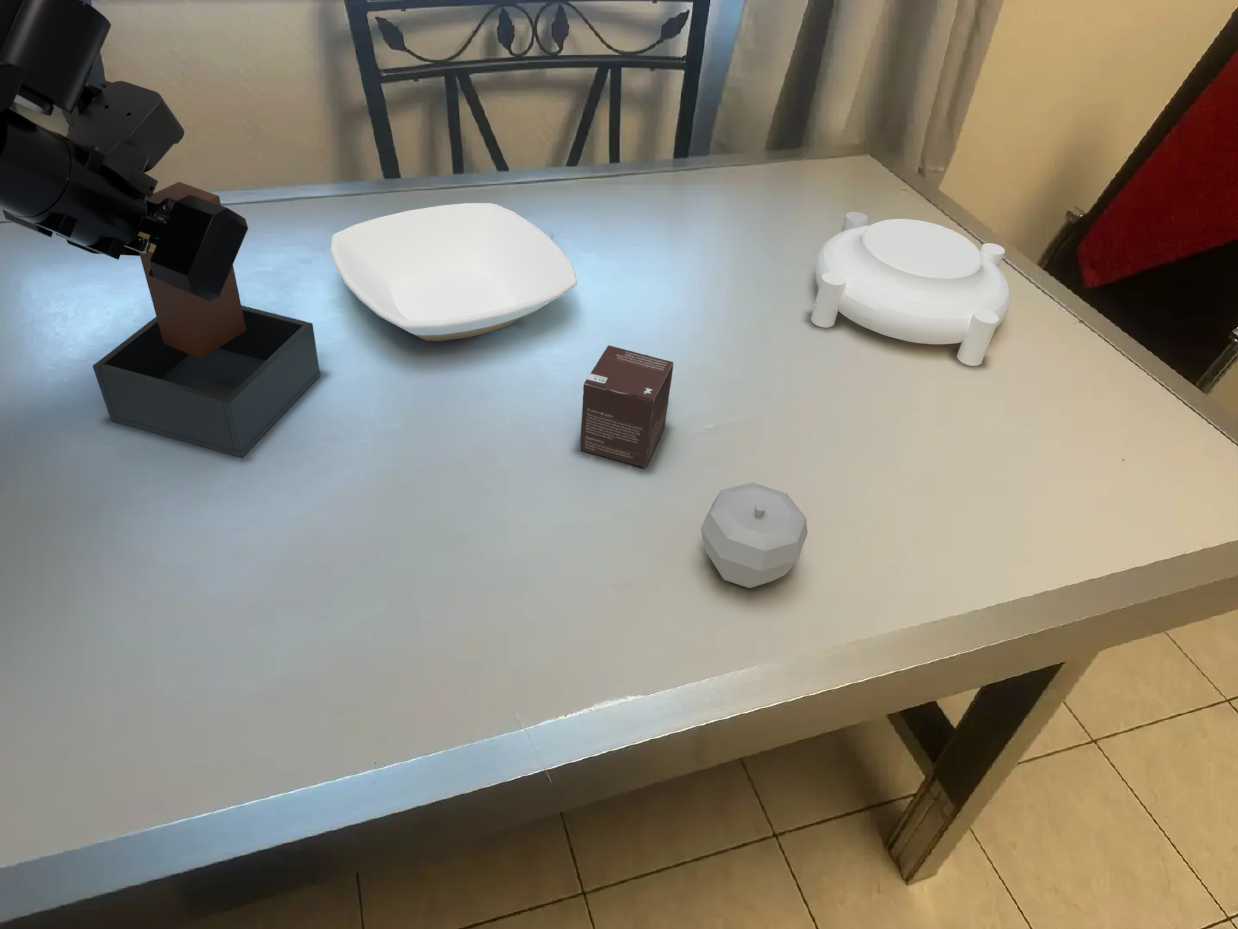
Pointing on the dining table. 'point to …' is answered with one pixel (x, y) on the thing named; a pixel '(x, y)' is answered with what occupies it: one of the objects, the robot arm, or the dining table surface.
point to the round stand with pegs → (912, 284)
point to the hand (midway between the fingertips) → (201, 258)
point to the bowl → (451, 269)
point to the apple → (753, 534)
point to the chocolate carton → (193, 298)
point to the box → (625, 405)
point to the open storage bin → (211, 382)
